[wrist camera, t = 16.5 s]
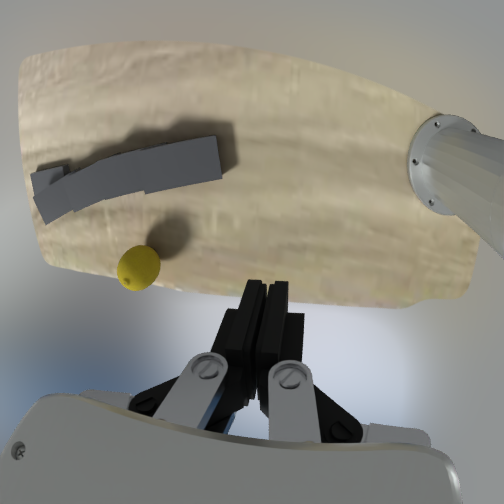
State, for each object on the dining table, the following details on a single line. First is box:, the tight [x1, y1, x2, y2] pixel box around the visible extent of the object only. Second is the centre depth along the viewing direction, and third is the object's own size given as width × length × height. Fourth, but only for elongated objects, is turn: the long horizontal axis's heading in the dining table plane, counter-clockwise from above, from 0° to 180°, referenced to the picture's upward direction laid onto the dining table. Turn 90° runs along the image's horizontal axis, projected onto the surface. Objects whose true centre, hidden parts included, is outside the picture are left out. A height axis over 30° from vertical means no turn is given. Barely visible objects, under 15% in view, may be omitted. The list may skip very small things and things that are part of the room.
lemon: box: [117, 245, 160, 291], centre depth 37 cm, size 6×6×8 cm
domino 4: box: [96, 142, 167, 200], centre depth 32 cm, size 2×5×9 cm
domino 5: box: [136, 135, 222, 194], centre depth 31 cm, size 2×5×9 cm
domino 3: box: [62, 153, 121, 212], centre depth 34 cm, size 2×5×9 cm
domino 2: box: [33, 168, 81, 225], centre depth 35 cm, size 2×5×9 cm
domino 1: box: [30, 164, 70, 195], centre depth 37 cm, size 2×5×9 cm
